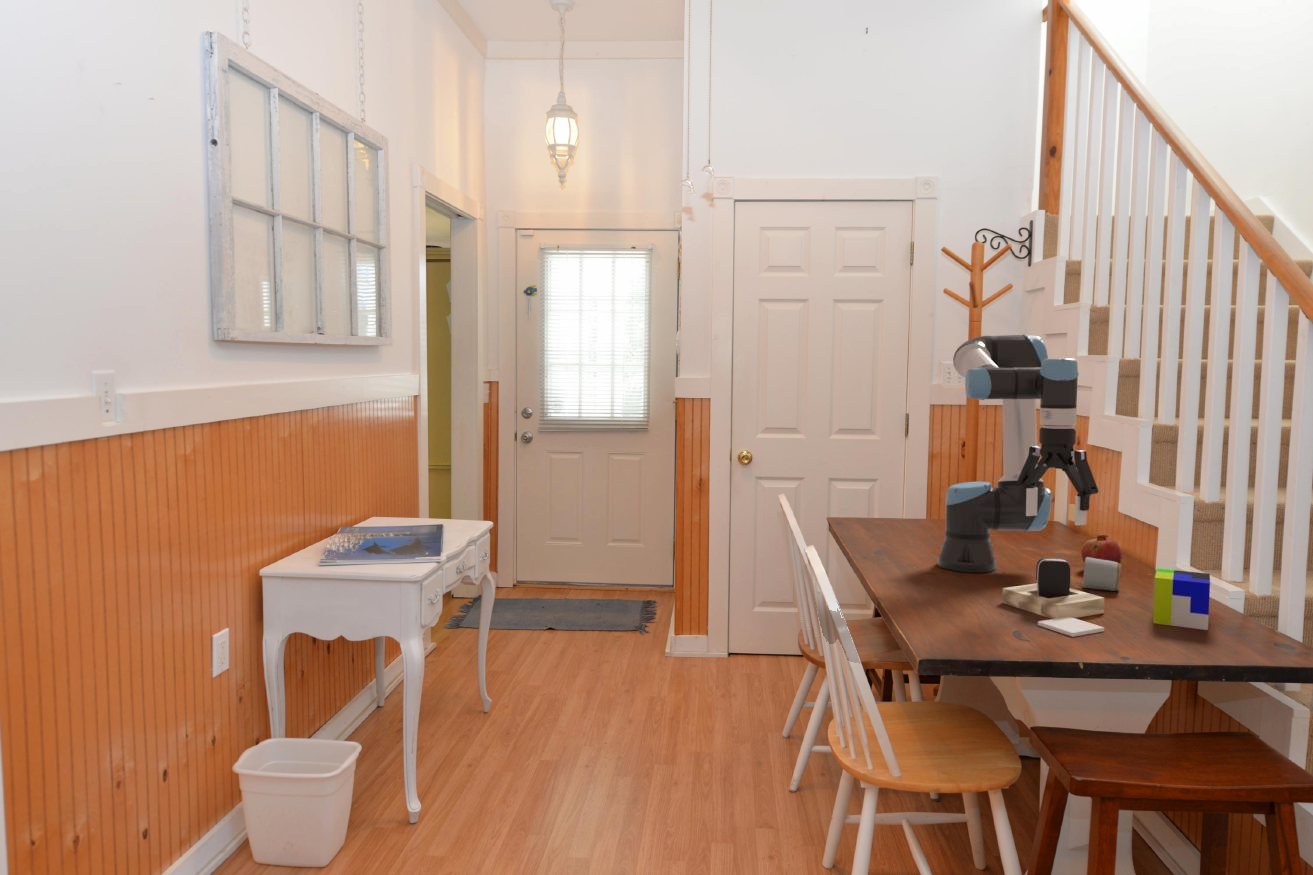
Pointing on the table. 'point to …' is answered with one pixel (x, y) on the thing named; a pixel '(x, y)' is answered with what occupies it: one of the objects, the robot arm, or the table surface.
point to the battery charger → (1053, 578)
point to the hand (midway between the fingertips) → (1055, 520)
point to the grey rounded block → (1101, 574)
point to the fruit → (1102, 549)
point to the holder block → (1053, 602)
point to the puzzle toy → (1181, 598)
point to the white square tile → (1071, 626)
